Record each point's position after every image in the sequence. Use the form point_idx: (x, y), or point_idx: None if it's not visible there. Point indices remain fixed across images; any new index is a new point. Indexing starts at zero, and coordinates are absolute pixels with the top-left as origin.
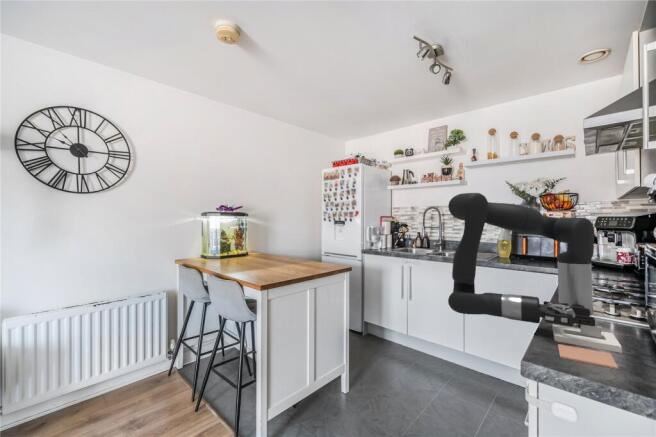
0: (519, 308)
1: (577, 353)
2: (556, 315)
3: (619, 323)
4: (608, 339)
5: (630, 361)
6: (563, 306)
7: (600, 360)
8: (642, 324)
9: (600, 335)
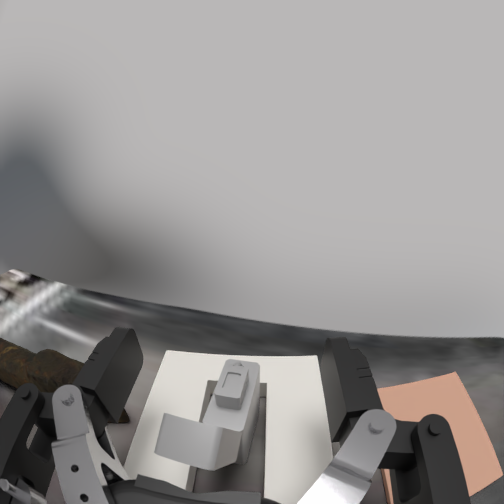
0: None
1: None
2: (465, 500)
3: (46, 309)
4: None
5: (373, 360)
6: (92, 447)
7: (448, 403)
8: (59, 283)
9: (259, 388)
